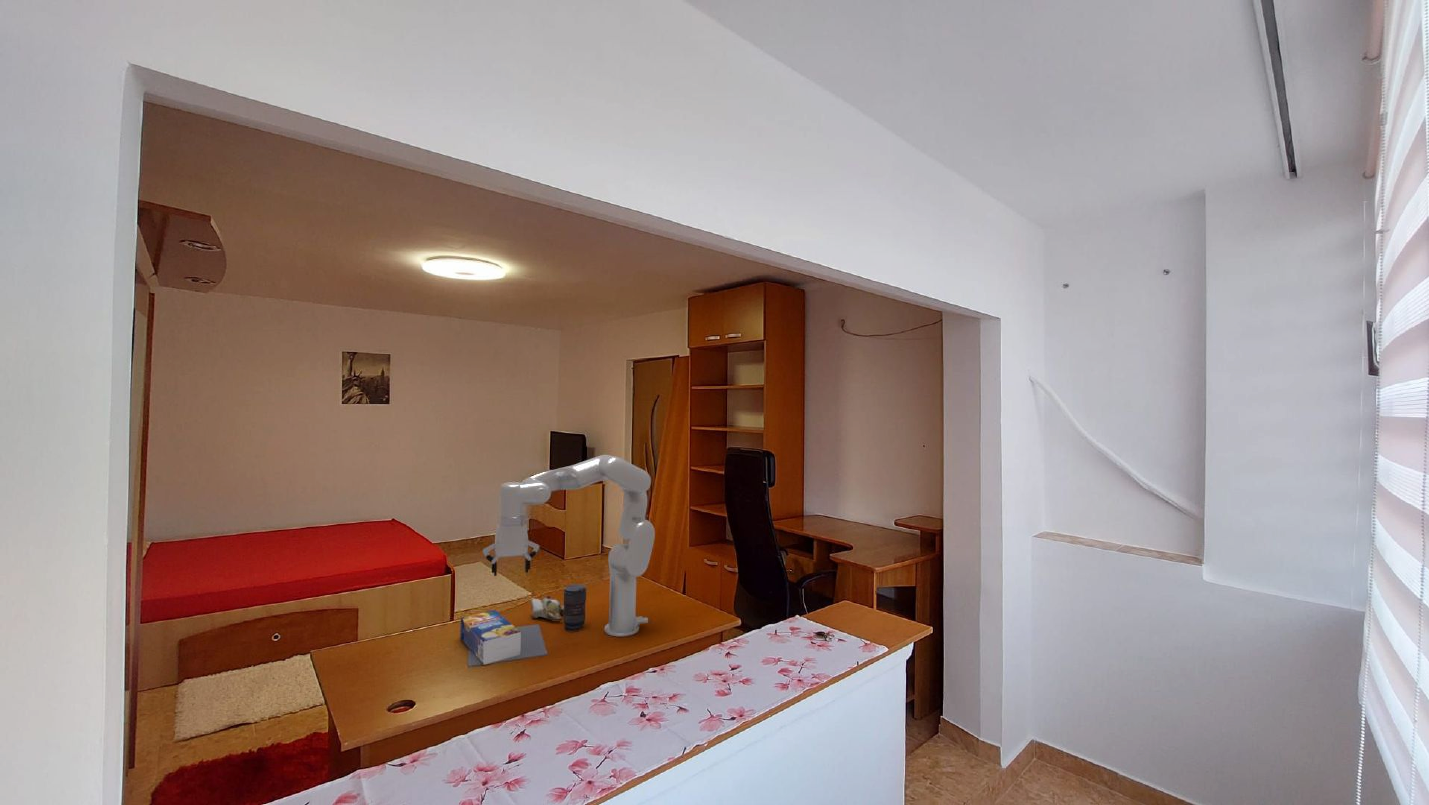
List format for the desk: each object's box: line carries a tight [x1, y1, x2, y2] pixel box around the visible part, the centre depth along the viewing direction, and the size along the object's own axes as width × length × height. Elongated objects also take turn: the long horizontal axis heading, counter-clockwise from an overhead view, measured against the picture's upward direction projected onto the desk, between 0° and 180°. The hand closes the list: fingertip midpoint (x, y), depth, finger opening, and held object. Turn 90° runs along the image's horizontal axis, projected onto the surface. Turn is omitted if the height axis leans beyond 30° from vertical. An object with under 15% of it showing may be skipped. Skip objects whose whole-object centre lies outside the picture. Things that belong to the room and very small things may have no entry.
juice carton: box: [459, 609, 521, 666], centre depth 191 cm, size 12×8×24 cm
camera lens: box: [562, 584, 587, 632], centre depth 209 cm, size 8×8×15 cm
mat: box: [467, 623, 548, 668], centre depth 194 cm, size 24×26×1 cm
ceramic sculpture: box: [530, 595, 564, 622], centre depth 218 cm, size 11×9×15 cm
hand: (511, 573), depth 183 cm, fingers open, 9 cm apart
